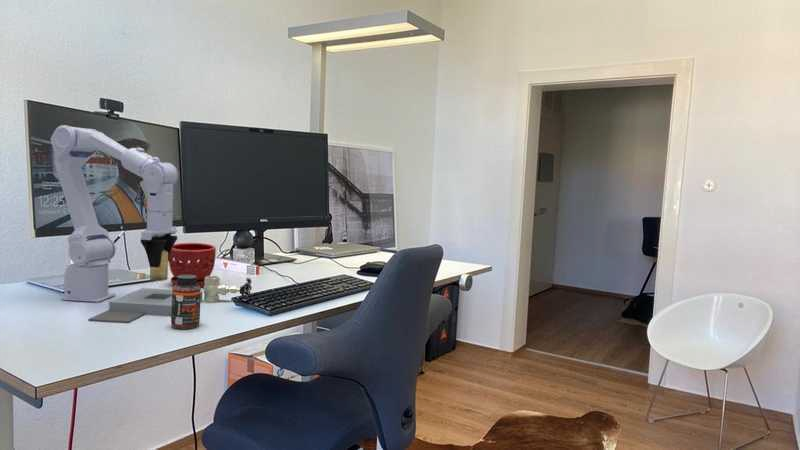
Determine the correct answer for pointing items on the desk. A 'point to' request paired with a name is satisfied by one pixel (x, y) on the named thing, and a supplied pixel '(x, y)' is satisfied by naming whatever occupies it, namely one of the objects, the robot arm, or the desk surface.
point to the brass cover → (160, 269)
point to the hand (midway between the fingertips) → (159, 265)
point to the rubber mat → (116, 316)
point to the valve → (222, 289)
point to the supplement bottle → (185, 302)
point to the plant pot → (192, 261)
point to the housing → (145, 302)
